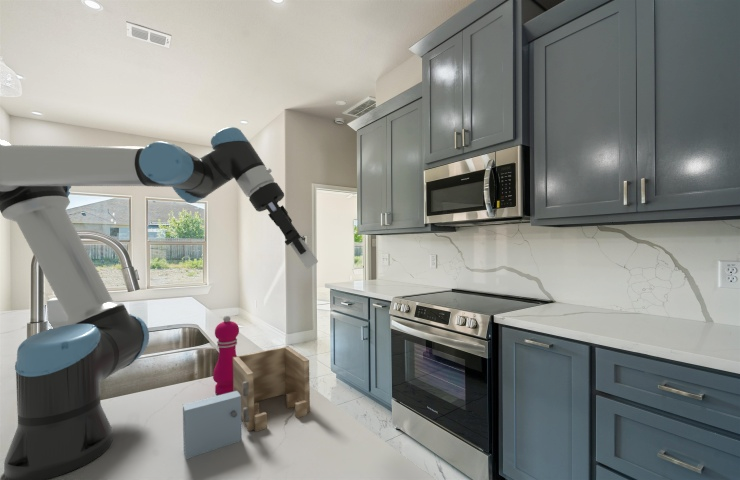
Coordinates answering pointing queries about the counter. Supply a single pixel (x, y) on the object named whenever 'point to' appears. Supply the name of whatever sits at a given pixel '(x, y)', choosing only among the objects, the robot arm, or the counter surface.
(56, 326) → the supplement box
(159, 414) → the counter surface
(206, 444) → the door
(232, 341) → the pepper mill
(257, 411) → the cabinet
